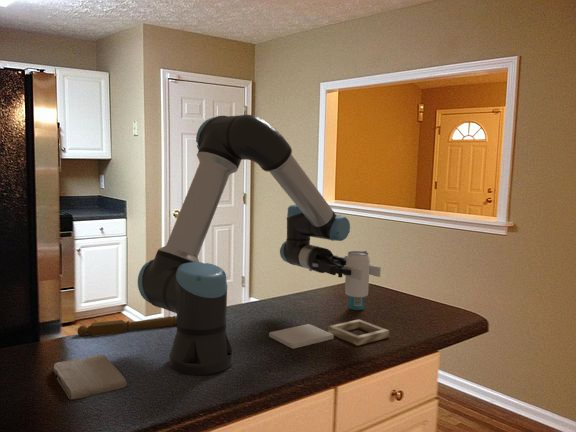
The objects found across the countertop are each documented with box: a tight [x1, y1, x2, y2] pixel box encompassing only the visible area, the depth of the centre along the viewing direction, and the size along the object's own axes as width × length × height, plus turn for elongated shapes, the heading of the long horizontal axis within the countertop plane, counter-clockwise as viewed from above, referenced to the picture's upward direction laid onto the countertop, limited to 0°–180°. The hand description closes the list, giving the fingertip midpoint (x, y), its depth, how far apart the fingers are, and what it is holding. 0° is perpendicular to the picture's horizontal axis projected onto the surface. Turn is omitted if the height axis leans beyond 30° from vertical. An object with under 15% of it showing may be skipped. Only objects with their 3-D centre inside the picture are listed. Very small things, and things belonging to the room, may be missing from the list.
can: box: [344, 250, 371, 298], centre depth 145 cm, size 6×6×12 cm
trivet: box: [268, 323, 335, 349], centre depth 144 cm, size 14×11×1 cm
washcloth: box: [53, 353, 128, 400], centre depth 114 cm, size 12×18×3 cm, turn 37°
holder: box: [327, 319, 390, 347], centre depth 147 cm, size 12×12×2 cm
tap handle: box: [76, 315, 177, 337], centre depth 147 cm, size 3×3×30 cm
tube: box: [348, 250, 368, 311], centre depth 172 cm, size 7×5×19 cm, turn 127°
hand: (370, 273), depth 141 cm, fingers closed on can, 6 cm apart
